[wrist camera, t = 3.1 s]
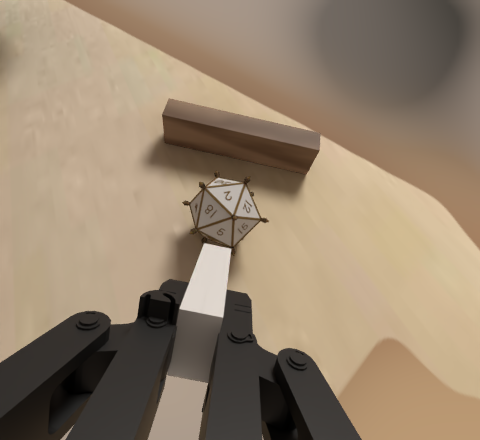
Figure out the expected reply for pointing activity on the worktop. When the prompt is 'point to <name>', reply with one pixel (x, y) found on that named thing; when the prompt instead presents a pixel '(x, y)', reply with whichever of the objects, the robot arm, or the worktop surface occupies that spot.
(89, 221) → the worktop surface
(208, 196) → the game die
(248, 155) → the rail
